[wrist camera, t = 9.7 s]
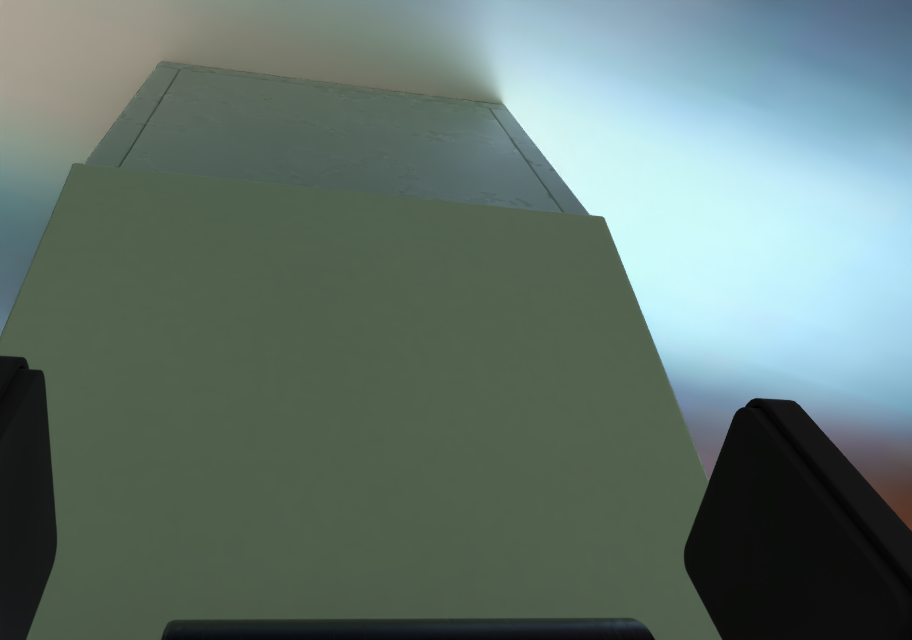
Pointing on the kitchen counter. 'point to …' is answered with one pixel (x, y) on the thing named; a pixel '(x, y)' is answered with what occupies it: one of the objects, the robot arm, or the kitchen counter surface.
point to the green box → (331, 139)
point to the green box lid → (350, 420)
